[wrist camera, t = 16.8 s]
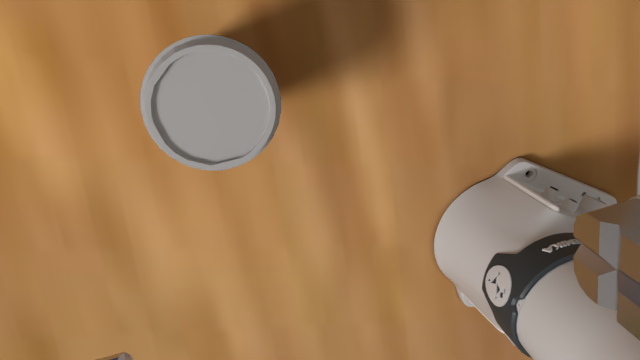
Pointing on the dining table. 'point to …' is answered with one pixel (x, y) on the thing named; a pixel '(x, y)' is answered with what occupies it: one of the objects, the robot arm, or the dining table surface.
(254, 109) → the disposable coffee cup
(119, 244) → the dining table surface
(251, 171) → the dining table surface
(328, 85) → the dining table surface
